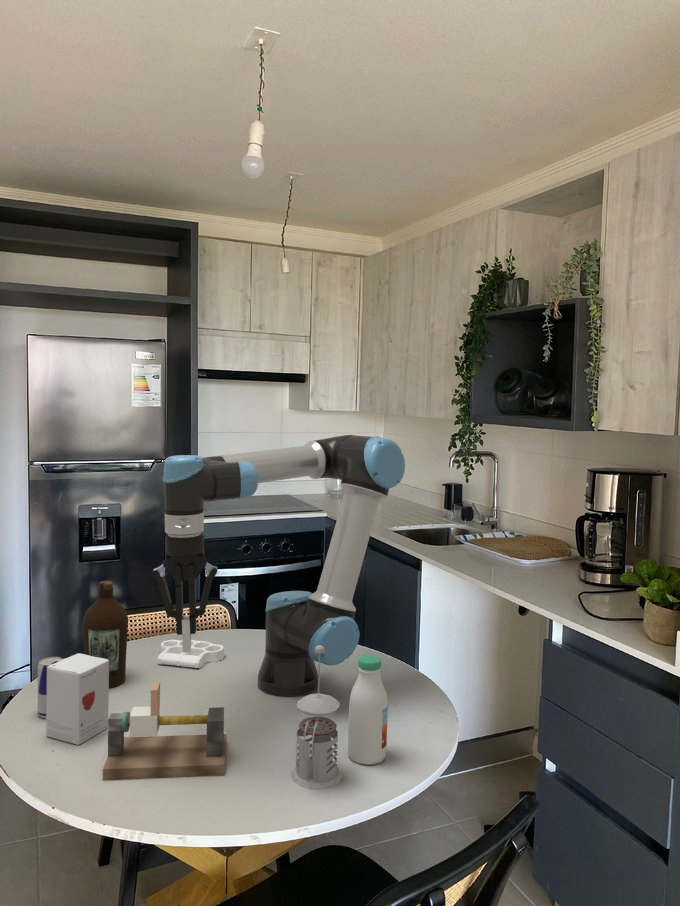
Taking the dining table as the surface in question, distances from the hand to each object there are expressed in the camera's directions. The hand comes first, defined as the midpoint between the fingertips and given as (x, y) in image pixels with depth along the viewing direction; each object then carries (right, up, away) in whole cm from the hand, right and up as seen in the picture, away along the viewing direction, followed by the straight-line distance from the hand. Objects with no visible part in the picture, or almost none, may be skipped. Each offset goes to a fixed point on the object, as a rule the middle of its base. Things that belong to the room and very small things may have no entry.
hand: (186, 649), depth 137 cm
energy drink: (-33, -18, +14) cm, 40 cm away
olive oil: (-27, -17, +32) cm, 45 cm away
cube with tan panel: (-7, -14, -5) cm, 17 cm away
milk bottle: (+36, -21, -1) cm, 42 cm away
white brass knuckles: (-10, -17, +49) cm, 53 cm away
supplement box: (-24, -19, +6) cm, 31 cm away
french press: (+26, -22, -9) cm, 35 cm away
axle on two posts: (-3, -20, -4) cm, 21 cm away
